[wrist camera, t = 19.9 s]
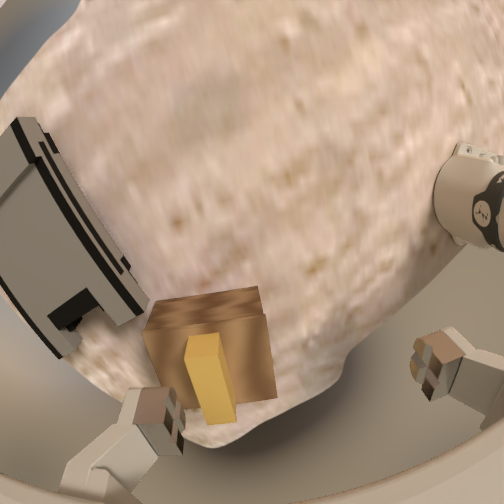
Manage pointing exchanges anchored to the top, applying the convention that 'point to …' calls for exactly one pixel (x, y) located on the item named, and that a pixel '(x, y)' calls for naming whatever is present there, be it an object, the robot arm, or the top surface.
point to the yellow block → (211, 378)
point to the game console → (56, 244)
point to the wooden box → (205, 308)
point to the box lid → (235, 350)
